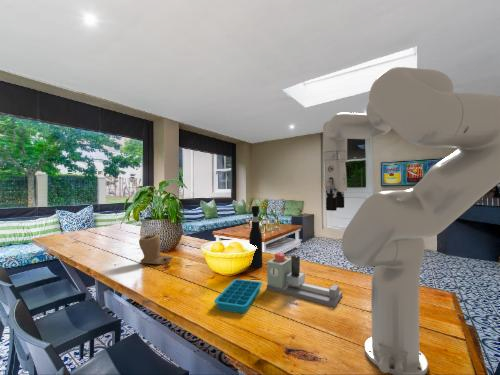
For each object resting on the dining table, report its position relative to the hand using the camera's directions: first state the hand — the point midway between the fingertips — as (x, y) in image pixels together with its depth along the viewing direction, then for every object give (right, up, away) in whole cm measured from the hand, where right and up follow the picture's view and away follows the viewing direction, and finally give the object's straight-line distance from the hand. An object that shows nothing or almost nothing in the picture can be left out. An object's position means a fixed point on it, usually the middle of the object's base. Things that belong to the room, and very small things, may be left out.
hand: (335, 209), depth 81 cm
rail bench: (-9, -32, +10) cm, 35 cm away
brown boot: (-79, -33, +47) cm, 98 cm away
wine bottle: (-26, -32, +40) cm, 58 cm away
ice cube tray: (-32, -33, +6) cm, 47 cm away
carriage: (-11, -30, +12) cm, 34 cm away
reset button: (-17, -26, +16) cm, 34 cm away
